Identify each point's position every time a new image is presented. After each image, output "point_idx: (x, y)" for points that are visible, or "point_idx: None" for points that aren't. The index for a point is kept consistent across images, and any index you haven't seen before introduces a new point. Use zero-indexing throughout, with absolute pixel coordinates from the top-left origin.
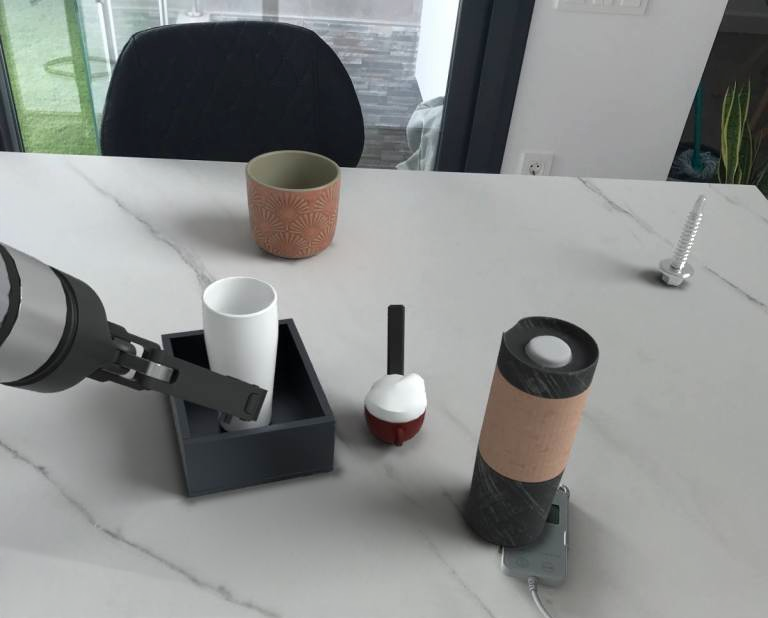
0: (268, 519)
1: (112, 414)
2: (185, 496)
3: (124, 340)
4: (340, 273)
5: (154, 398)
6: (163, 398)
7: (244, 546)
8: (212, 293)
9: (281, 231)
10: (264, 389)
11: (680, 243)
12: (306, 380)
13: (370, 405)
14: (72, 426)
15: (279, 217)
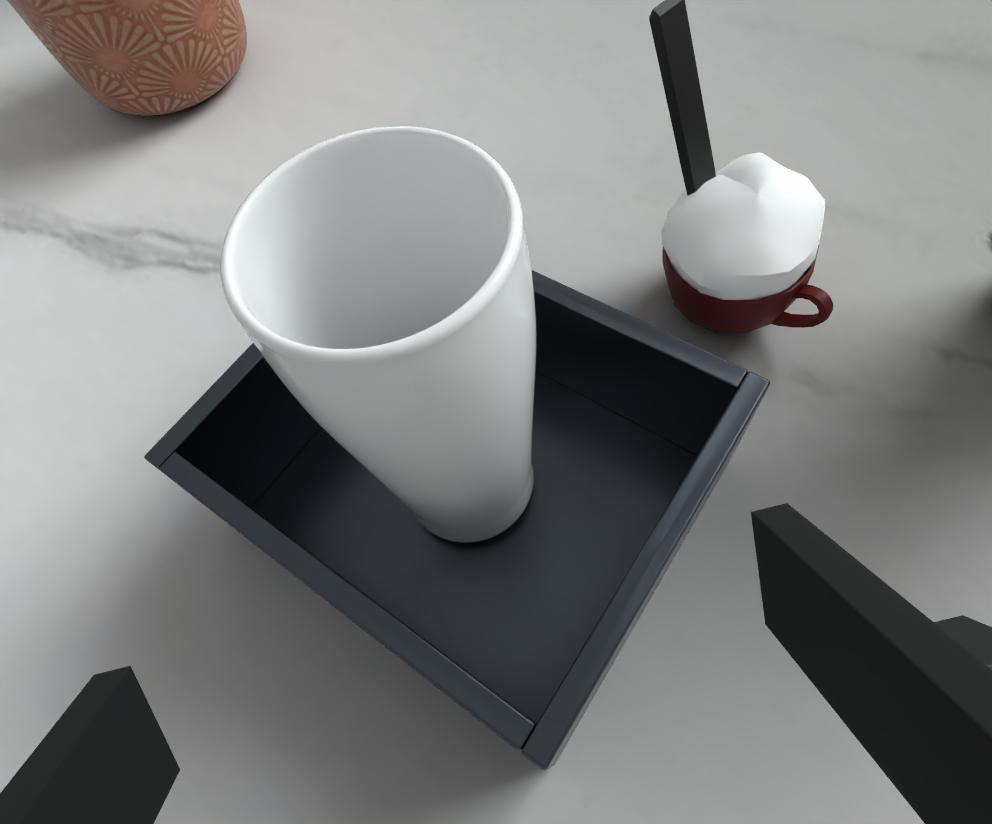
0: (751, 679)
1: (187, 683)
2: (541, 769)
3: (109, 705)
4: (311, 75)
5: (237, 570)
6: (256, 555)
7: (786, 795)
8: (248, 283)
9: (153, 49)
10: (807, 520)
11: None
12: (562, 323)
13: (729, 284)
14: None
15: (128, 17)
